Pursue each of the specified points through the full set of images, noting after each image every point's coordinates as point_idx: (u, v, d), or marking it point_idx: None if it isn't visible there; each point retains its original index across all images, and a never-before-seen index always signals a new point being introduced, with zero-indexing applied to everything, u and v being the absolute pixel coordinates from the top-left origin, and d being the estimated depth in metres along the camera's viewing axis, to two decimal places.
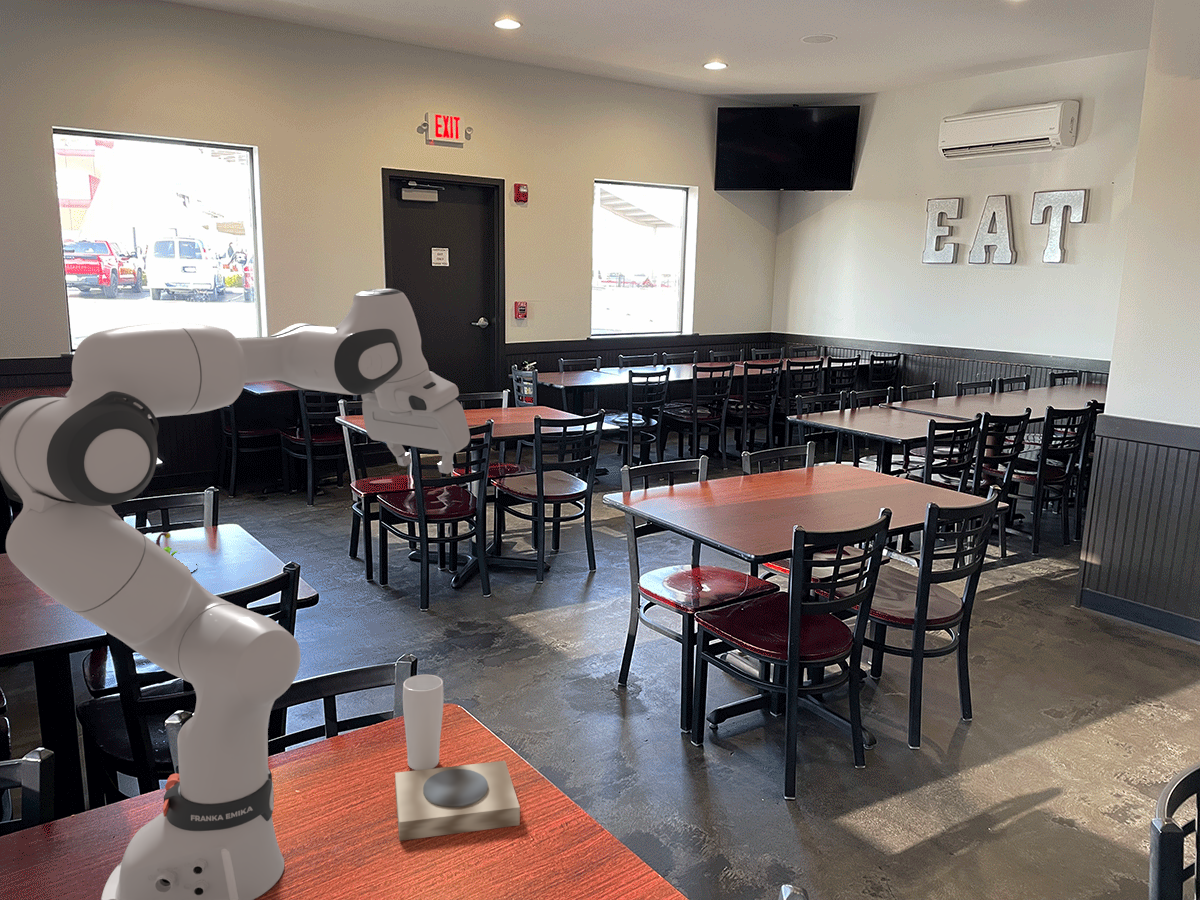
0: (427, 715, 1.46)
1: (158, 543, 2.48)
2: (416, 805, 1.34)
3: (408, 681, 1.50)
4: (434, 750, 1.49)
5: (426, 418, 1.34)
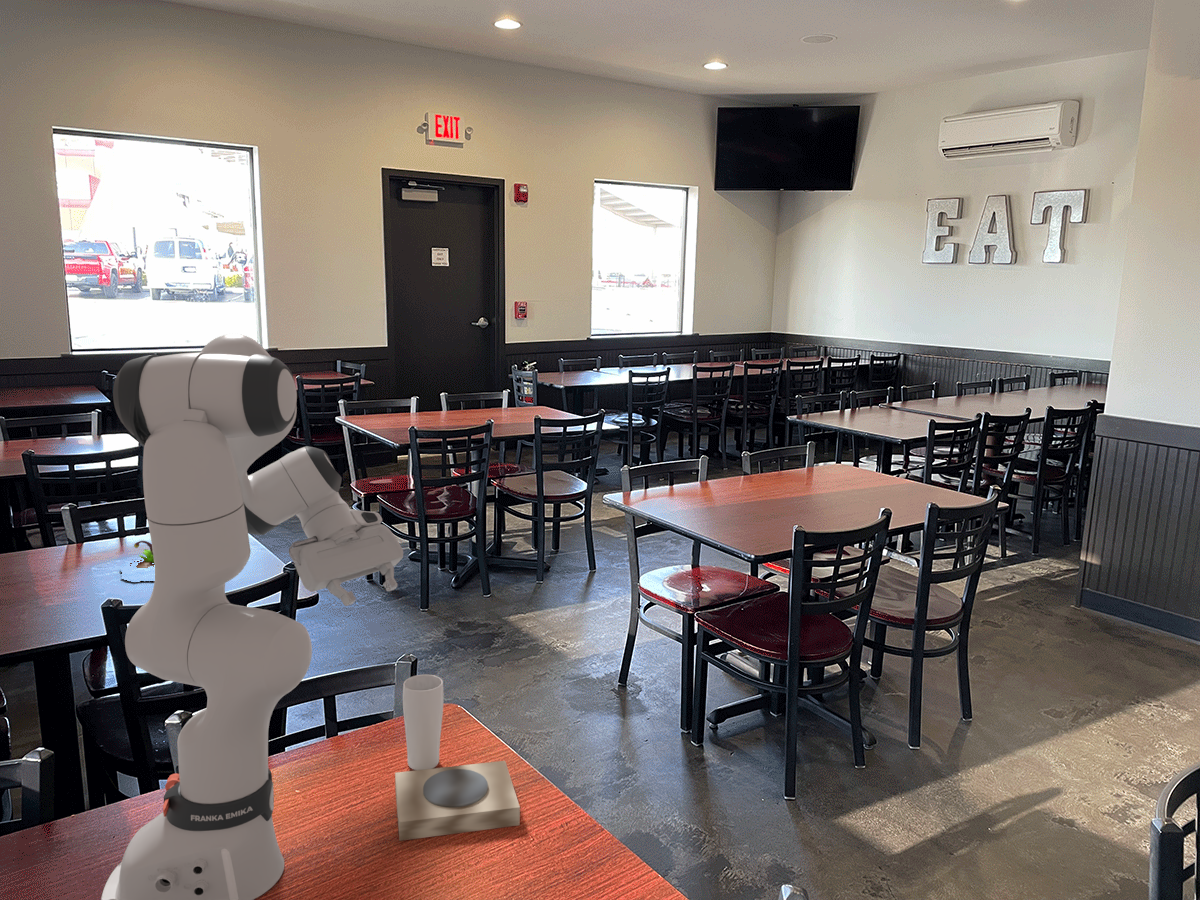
0: (427, 715, 1.46)
1: None
2: (416, 805, 1.34)
3: (408, 681, 1.50)
4: (434, 750, 1.49)
5: (372, 536, 1.59)
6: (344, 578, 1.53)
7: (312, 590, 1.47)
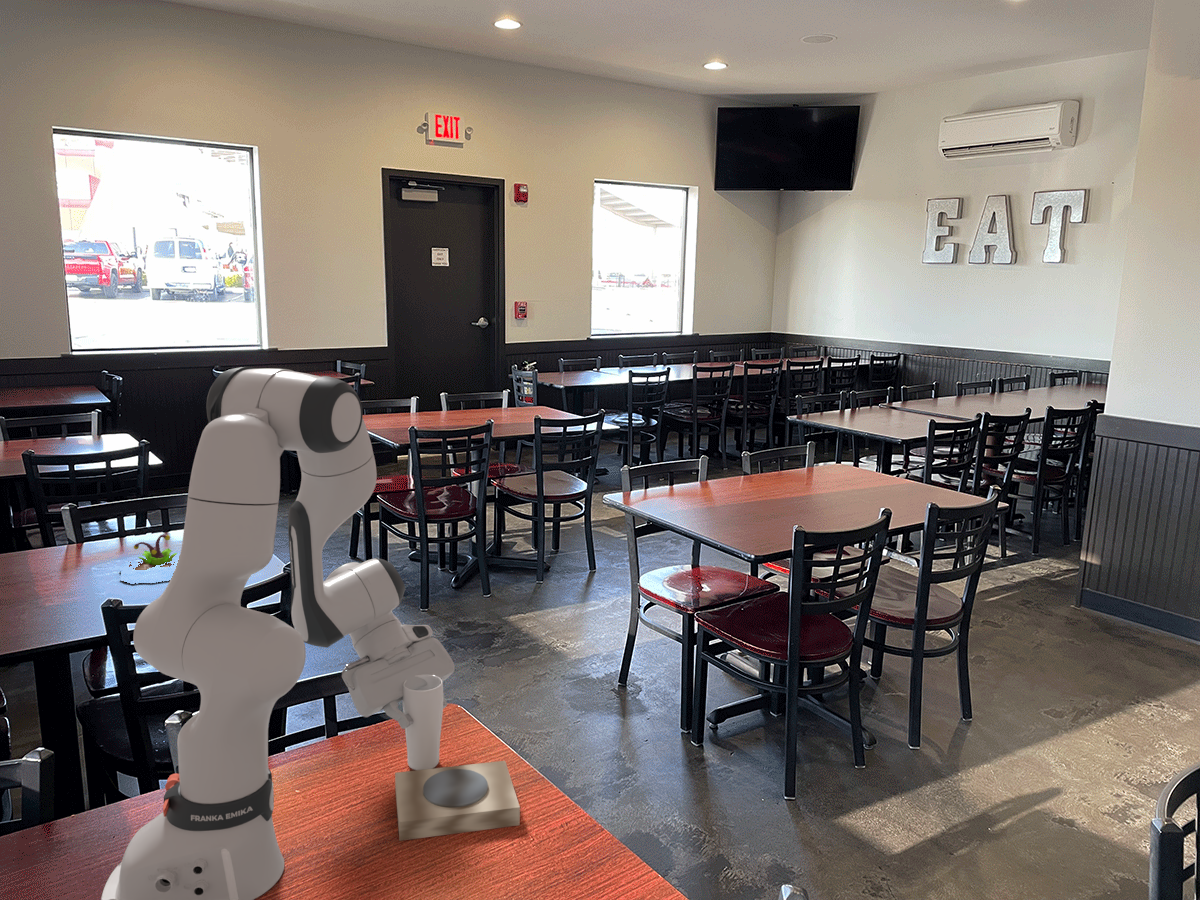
0: (427, 715, 1.46)
1: (157, 545, 2.46)
2: (416, 805, 1.34)
3: None
4: (434, 750, 1.49)
5: (423, 651, 1.55)
6: (397, 699, 1.49)
7: (366, 716, 1.43)
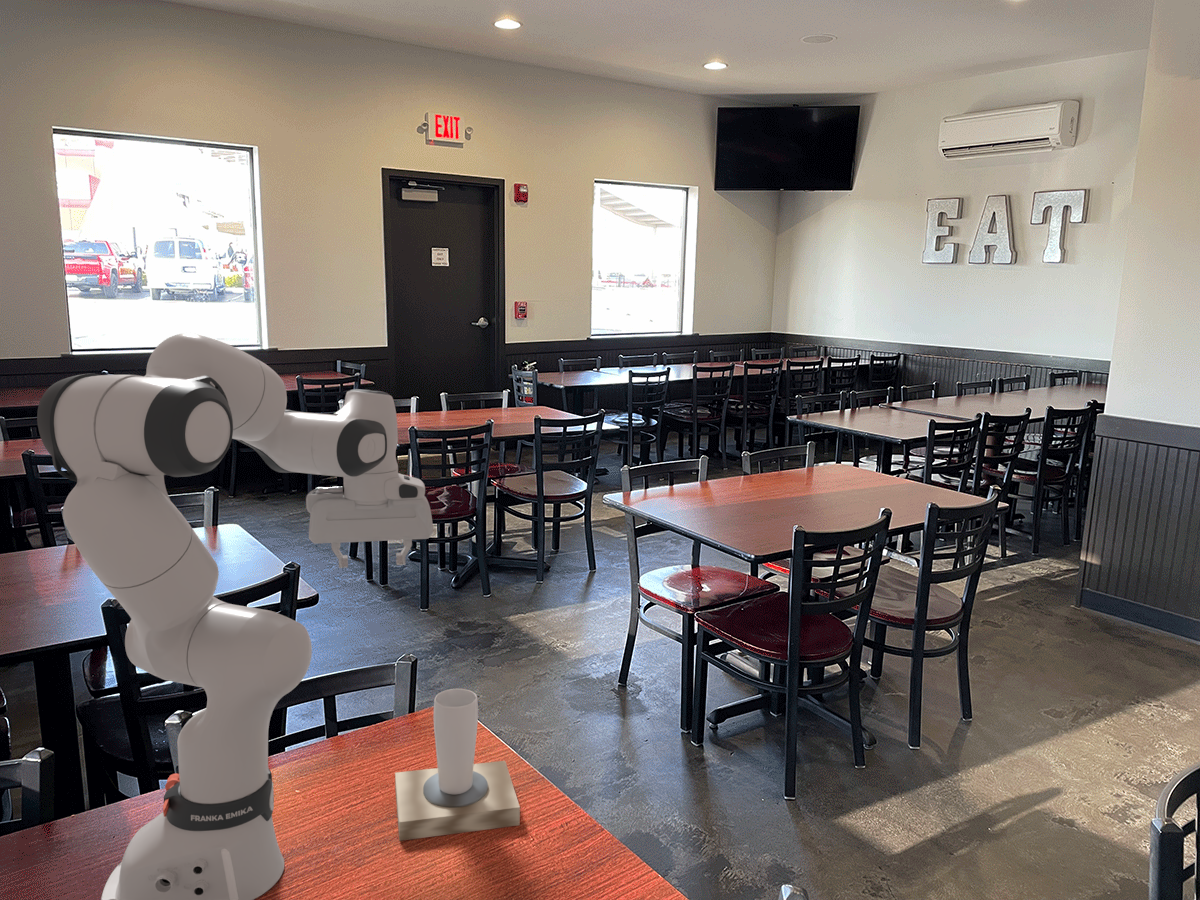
0: (461, 734, 1.33)
1: None
2: (416, 805, 1.34)
3: (439, 696, 1.37)
4: (468, 772, 1.36)
5: (404, 508, 1.47)
6: None
7: None
